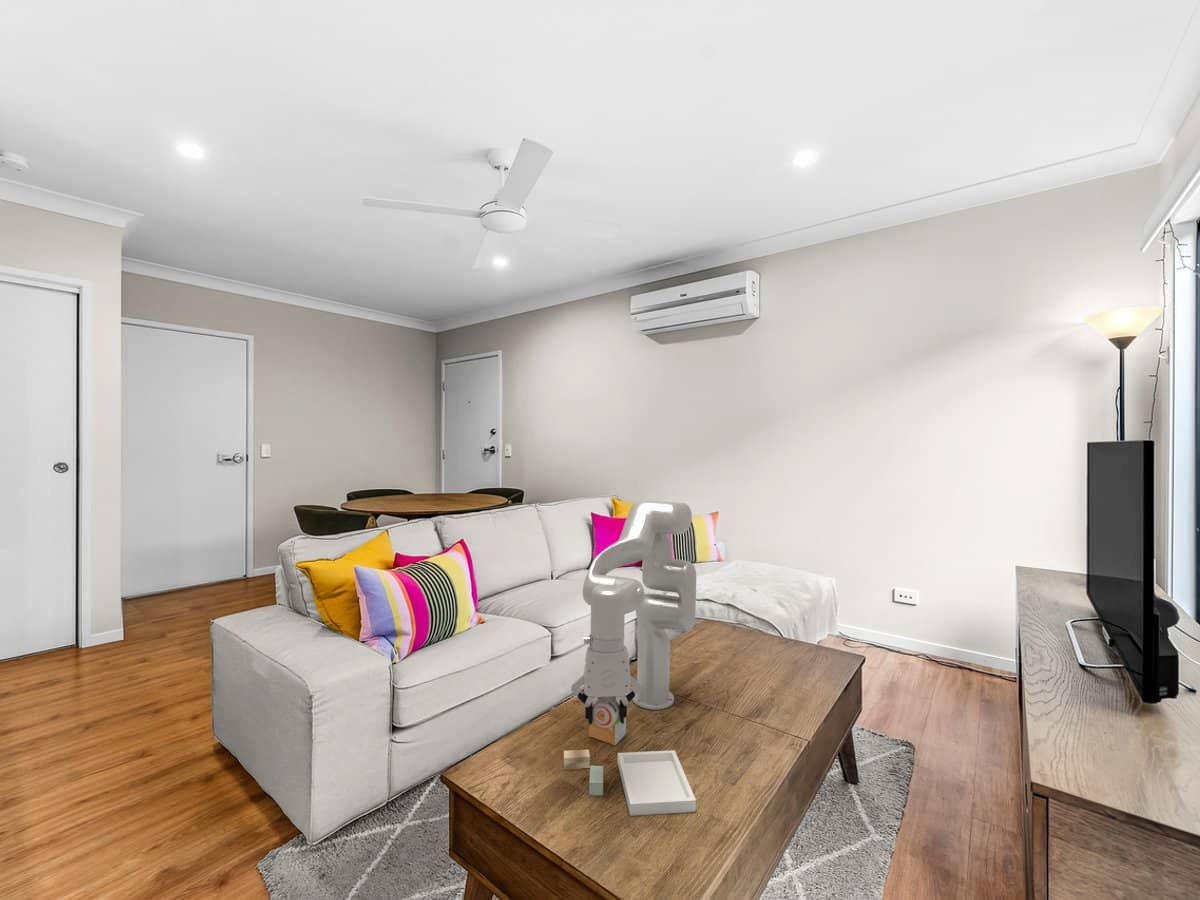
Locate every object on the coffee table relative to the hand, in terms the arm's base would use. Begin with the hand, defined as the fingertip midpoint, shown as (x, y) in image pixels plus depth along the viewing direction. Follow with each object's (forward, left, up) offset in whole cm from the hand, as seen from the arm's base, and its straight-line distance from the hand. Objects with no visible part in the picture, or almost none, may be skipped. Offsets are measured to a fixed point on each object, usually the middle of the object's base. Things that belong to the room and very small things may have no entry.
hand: (605, 720), depth 121 cm
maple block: (-8, -6, -15) cm, 18 cm away
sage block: (0, -2, -15) cm, 15 cm away
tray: (+1, +11, -15) cm, 19 cm away
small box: (-20, +3, -15) cm, 26 cm away
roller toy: (0, 0, -1) cm, 1 cm away
